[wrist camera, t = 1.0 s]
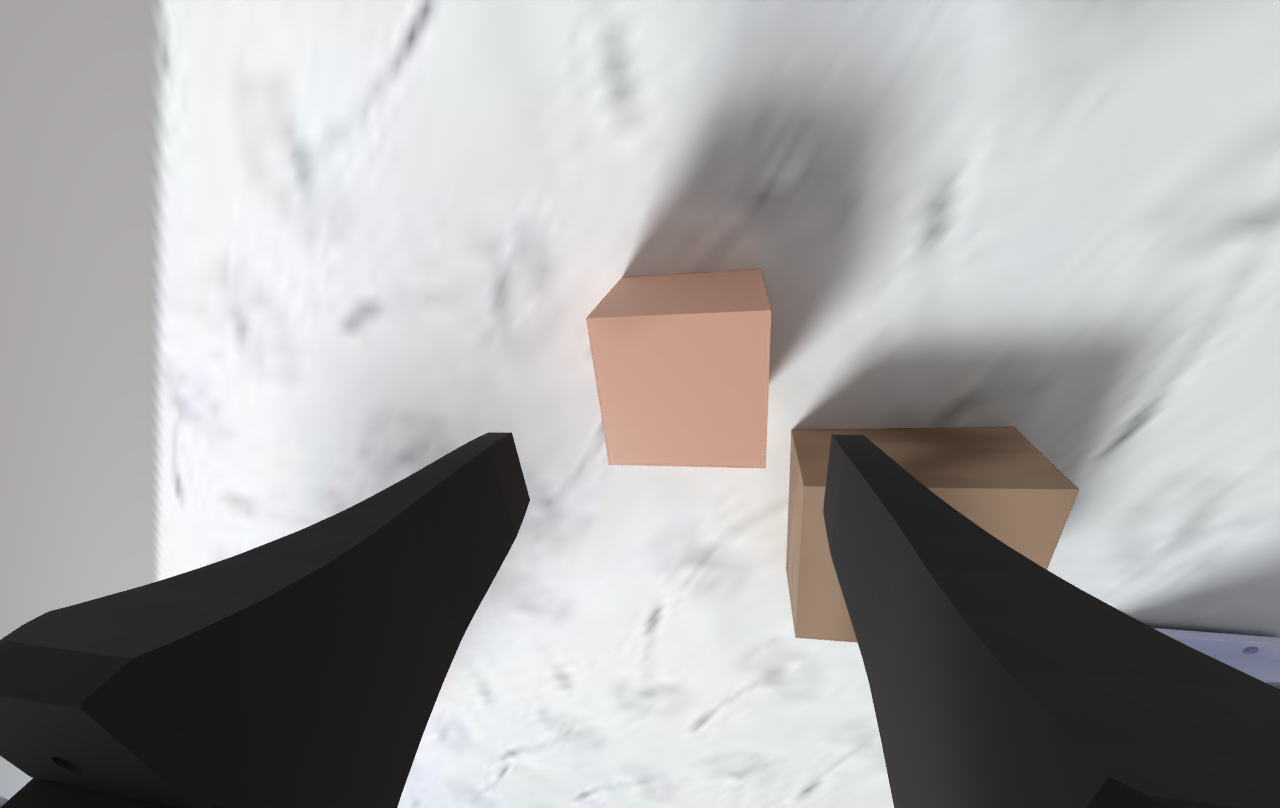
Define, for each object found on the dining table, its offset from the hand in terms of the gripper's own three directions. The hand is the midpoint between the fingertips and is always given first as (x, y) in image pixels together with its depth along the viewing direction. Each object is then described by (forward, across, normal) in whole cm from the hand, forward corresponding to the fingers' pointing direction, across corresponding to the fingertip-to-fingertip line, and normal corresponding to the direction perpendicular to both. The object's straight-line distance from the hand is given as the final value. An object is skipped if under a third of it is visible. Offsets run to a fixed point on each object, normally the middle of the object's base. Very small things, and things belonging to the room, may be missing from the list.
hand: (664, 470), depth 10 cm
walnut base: (+9, -8, +8) cm, 14 cm away
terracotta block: (+8, 0, 0) cm, 8 cm away
